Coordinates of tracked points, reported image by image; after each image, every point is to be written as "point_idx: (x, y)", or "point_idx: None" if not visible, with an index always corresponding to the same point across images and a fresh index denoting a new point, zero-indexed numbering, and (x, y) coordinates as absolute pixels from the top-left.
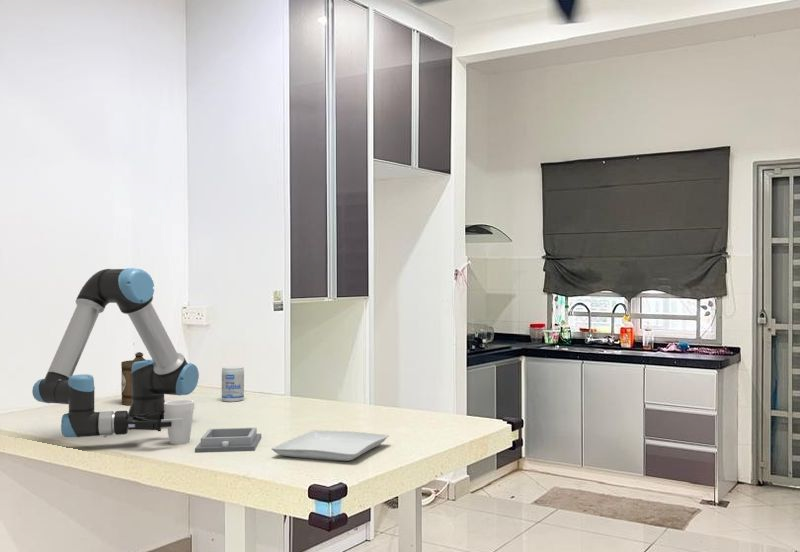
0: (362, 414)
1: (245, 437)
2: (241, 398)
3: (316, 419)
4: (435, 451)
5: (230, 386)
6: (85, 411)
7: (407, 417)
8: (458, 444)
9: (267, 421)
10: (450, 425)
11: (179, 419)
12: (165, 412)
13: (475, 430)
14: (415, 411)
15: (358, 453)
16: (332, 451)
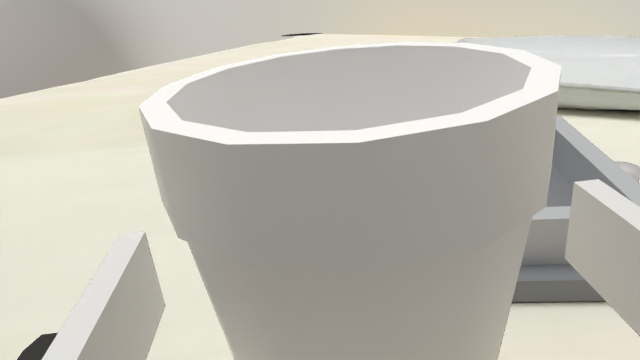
0: (109, 94)
1: (567, 123)
2: None
3: (99, 125)
4: None
5: None
6: None
7: (198, 68)
8: (457, 37)
9: (10, 186)
10: (302, 48)
11: (616, 197)
12: (457, 270)
13: (352, 39)
14: (145, 69)
15: (632, 44)
16: (564, 75)
